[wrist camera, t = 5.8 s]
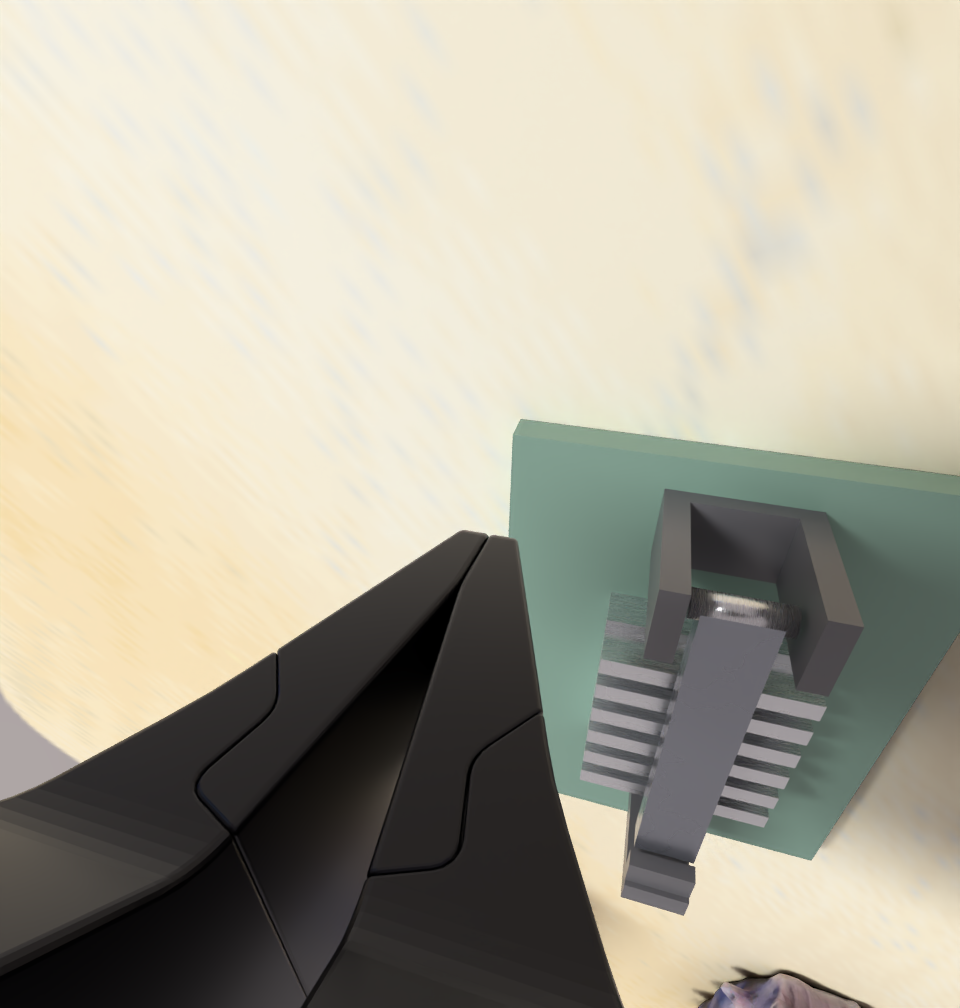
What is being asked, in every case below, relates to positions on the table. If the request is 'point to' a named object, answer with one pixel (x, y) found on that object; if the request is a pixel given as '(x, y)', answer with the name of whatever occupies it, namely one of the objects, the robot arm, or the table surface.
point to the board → (734, 591)
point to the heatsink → (644, 703)
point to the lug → (654, 872)
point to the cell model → (774, 995)
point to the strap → (709, 715)
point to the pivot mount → (754, 576)
